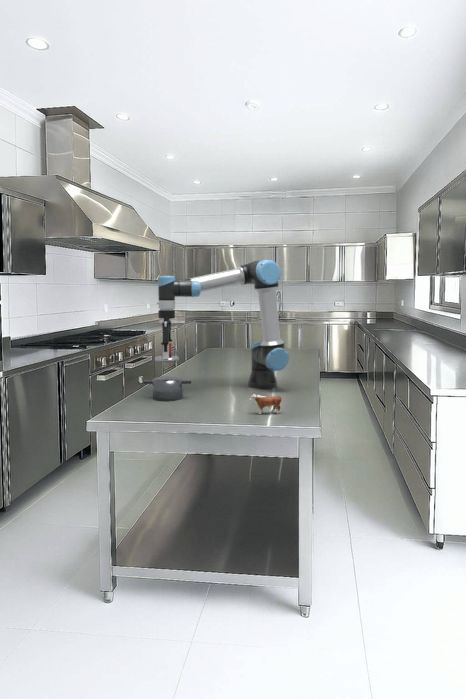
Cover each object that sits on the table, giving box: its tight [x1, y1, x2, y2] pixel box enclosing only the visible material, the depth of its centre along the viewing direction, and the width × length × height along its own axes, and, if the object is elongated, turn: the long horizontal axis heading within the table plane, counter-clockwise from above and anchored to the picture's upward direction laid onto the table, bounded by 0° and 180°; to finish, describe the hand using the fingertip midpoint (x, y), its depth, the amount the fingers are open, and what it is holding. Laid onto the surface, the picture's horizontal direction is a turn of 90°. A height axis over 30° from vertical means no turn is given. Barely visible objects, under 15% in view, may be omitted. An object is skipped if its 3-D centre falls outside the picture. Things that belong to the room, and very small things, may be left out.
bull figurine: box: [248, 393, 282, 416], centre depth 228 cm, size 4×13×8 cm, turn 95°
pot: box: [142, 375, 192, 402], centre depth 257 cm, size 22×14×9 cm, turn 92°
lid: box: [154, 343, 180, 363], centre depth 255 cm, size 11×11×8 cm
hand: (166, 357), depth 256 cm, fingers closed on lid, 11 cm apart
